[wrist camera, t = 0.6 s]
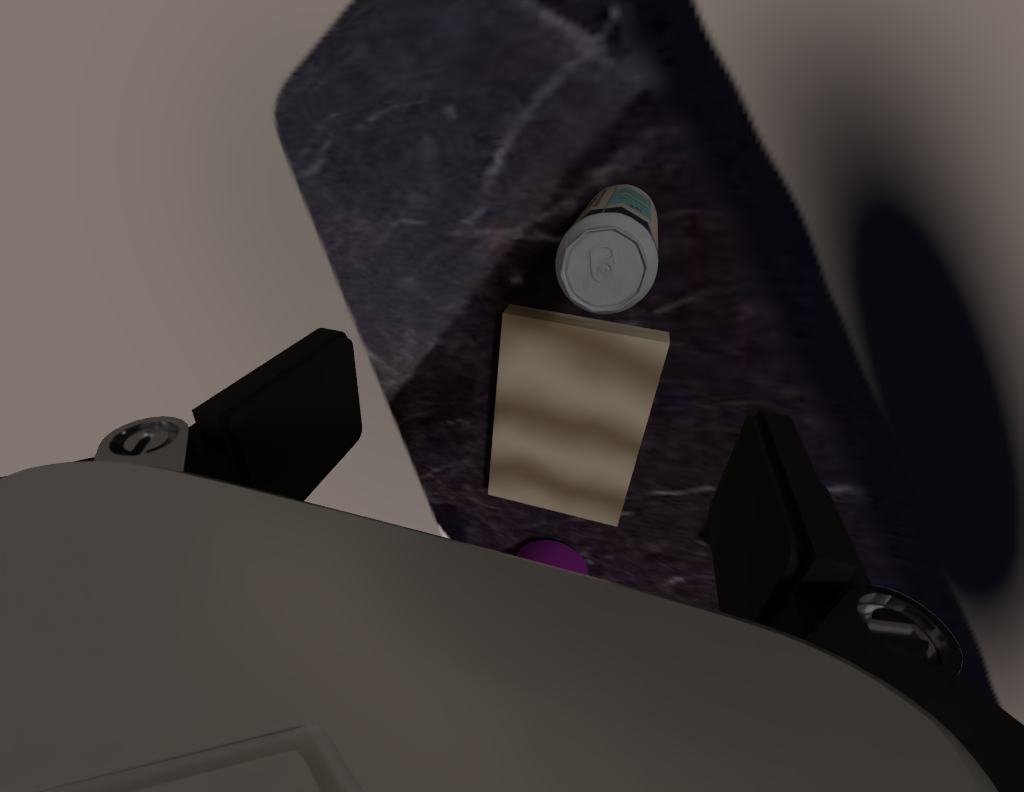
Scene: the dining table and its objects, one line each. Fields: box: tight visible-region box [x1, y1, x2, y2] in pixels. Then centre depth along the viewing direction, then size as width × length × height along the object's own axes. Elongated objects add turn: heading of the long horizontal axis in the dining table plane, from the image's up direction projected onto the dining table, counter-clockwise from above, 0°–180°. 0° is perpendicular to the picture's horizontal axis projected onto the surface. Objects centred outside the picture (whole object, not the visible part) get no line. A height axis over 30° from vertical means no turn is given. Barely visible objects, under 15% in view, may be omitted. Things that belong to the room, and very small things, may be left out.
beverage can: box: [516, 539, 588, 575], centre depth 45 cm, size 8×8×12 cm
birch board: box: [488, 304, 670, 526], centre depth 39 cm, size 18×12×2 cm, turn 177°
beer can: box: [556, 185, 658, 314], centre depth 27 cm, size 5×5×12 cm
